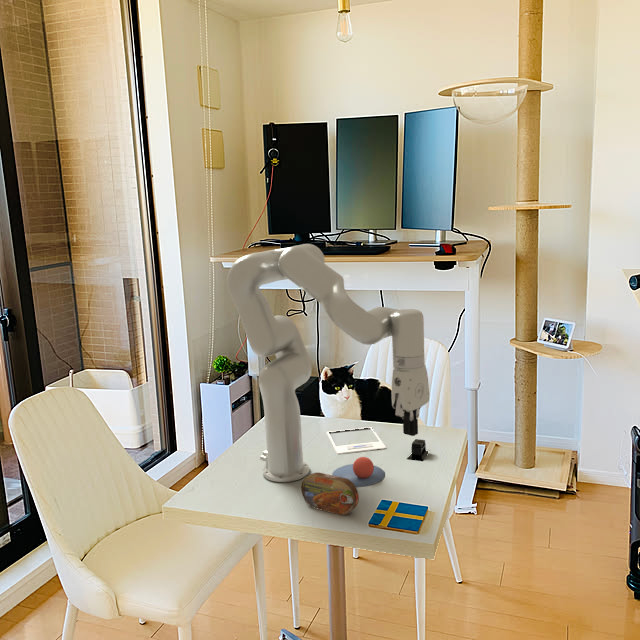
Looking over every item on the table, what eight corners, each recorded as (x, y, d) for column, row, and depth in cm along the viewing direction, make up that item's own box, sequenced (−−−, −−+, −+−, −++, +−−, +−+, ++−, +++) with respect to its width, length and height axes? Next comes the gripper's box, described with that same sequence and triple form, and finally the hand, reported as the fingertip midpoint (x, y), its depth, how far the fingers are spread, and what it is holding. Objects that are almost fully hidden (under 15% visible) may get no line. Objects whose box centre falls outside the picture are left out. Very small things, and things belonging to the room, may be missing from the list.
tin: (301, 504, 158) (299, 472, 157) (308, 499, 161) (306, 467, 159) (354, 519, 150) (352, 485, 148) (361, 513, 152) (359, 479, 151)
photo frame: (337, 452, 187) (326, 431, 205) (337, 456, 188) (326, 434, 205) (386, 446, 190) (371, 426, 207) (386, 450, 190) (371, 429, 207)
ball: (345, 464, 171) (359, 457, 167) (357, 458, 175) (371, 451, 172) (354, 484, 170) (369, 477, 166) (366, 476, 174) (381, 470, 171)
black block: (424, 467, 177) (424, 451, 176) (399, 463, 180) (398, 448, 180) (436, 450, 188) (436, 435, 187) (412, 447, 191) (412, 432, 191)
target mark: (321, 477, 172) (321, 477, 172) (354, 460, 183) (353, 459, 183) (363, 491, 163) (363, 490, 163) (395, 472, 173) (395, 471, 173)
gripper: (404, 370, 148) (406, 447, 151) (438, 356, 159) (440, 428, 162) (377, 366, 153) (380, 440, 156) (412, 352, 163) (414, 422, 167)
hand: (410, 433), depth 159 cm, fingers closed
